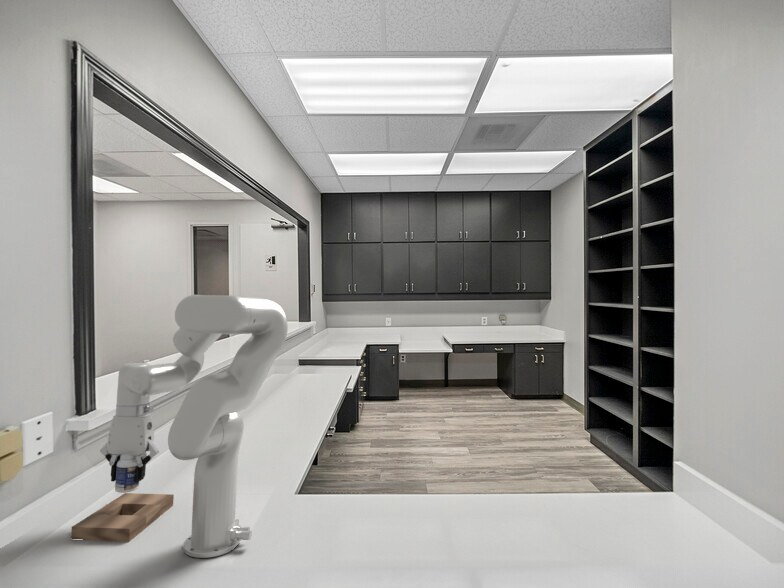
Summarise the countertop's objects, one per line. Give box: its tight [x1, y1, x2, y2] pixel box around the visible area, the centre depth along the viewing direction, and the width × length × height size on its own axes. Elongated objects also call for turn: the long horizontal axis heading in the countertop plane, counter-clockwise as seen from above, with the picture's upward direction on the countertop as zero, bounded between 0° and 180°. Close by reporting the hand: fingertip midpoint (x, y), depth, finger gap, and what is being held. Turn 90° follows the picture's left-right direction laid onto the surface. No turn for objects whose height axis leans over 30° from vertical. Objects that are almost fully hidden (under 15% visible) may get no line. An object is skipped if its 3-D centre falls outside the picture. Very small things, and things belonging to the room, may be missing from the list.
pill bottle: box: [114, 455, 140, 494], centre depth 113 cm, size 5×5×10 cm
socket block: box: [70, 492, 175, 543], centre depth 112 cm, size 14×20×3 cm
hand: (127, 479), depth 113 cm, fingers closed on pill bottle, 5 cm apart
